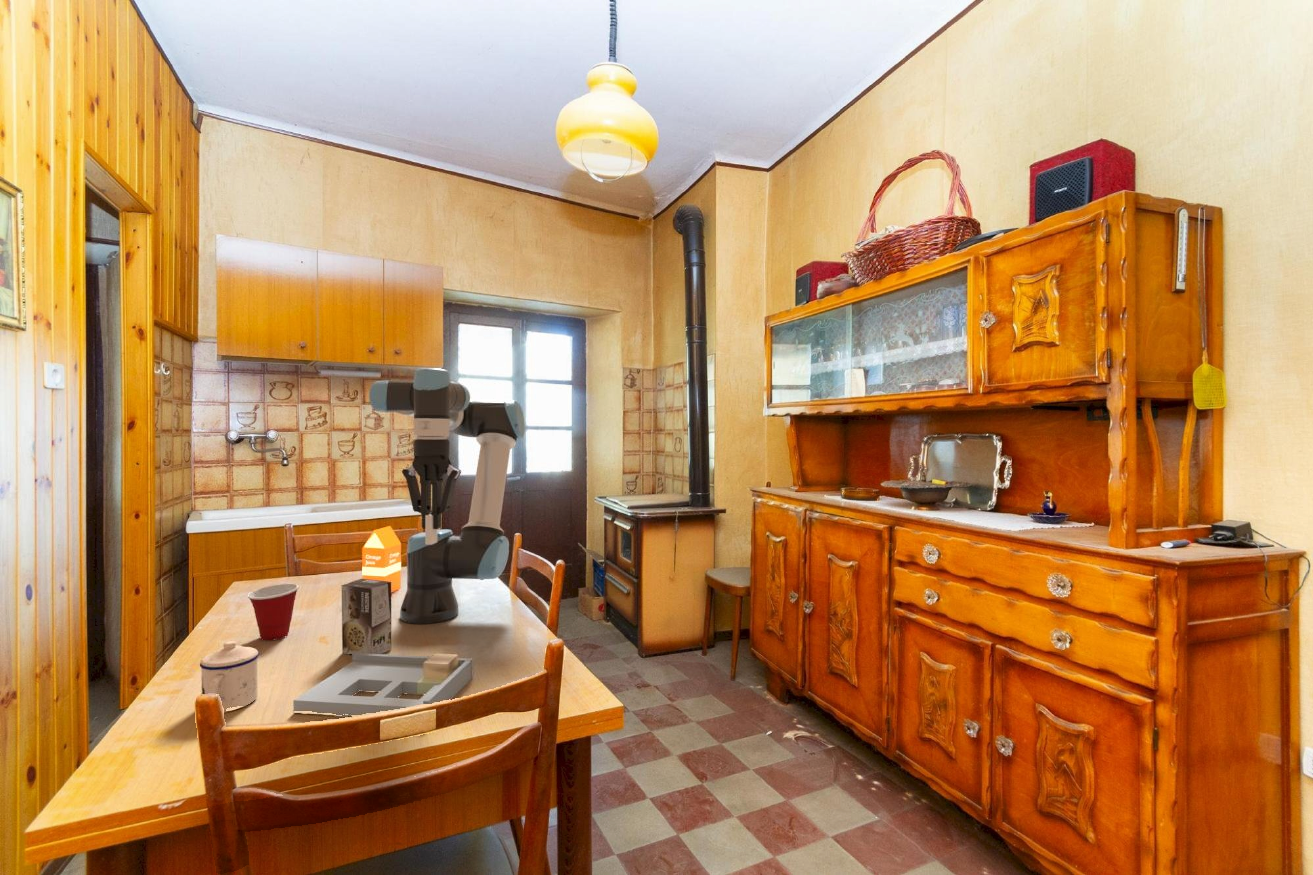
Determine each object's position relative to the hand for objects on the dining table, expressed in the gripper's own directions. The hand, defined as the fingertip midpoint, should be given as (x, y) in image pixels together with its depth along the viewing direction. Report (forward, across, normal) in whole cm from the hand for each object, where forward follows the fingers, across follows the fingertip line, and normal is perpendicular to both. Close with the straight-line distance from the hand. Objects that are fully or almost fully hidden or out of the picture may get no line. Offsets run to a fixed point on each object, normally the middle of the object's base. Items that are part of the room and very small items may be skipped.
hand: (431, 543), depth 135 cm
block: (+24, +8, -12) cm, 28 cm away
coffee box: (+27, -17, +3) cm, 32 cm away
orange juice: (+27, -41, +51) cm, 71 cm away
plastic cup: (+27, -45, +9) cm, 53 cm away
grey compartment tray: (+26, 0, -18) cm, 32 cm away
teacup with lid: (+27, -27, -26) cm, 46 cm away
